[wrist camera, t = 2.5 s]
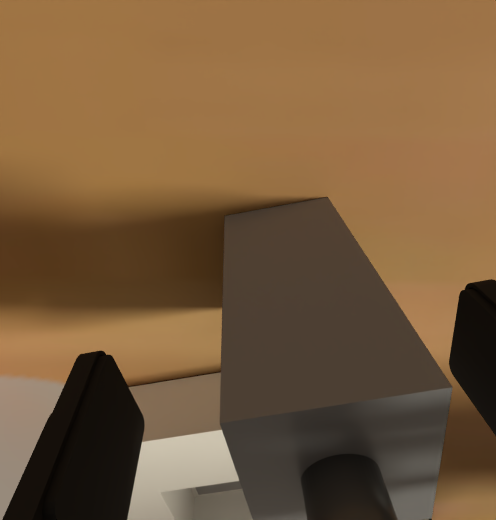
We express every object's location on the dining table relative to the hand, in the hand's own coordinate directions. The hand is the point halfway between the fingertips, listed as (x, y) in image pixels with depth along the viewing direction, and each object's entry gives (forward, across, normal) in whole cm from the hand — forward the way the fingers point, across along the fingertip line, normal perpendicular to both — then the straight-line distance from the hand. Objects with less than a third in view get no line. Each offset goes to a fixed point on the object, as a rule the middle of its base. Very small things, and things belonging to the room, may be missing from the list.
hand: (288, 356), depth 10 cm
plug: (+6, -1, 0) cm, 6 cm away
